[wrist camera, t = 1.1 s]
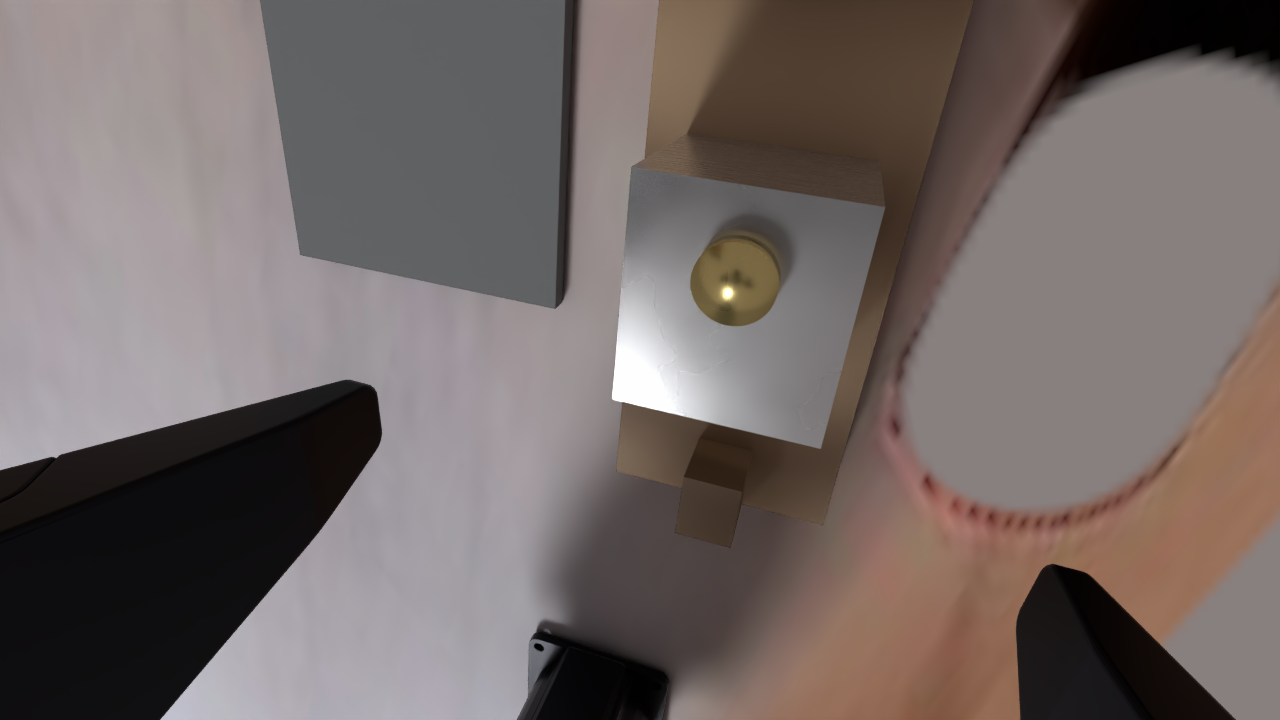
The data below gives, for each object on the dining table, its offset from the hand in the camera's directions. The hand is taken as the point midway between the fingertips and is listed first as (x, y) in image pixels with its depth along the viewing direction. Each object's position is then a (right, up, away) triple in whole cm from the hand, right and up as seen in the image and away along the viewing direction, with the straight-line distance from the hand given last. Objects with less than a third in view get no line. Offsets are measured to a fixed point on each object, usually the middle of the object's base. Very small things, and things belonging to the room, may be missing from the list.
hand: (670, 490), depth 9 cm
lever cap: (+3, +5, +8) cm, 10 cm away
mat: (-7, +10, +12) cm, 17 cm away
